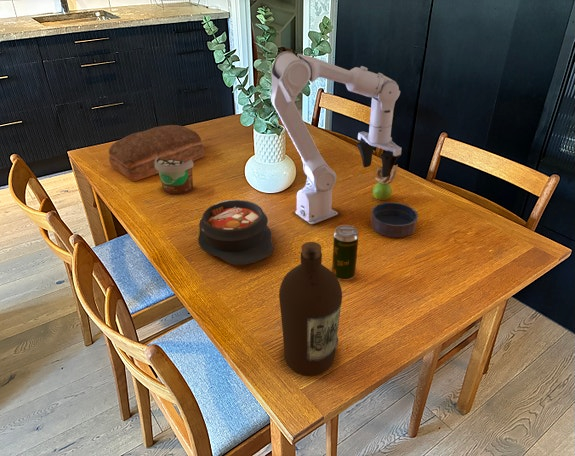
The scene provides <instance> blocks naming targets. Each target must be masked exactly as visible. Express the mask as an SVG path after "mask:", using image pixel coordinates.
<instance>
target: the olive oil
mask: <svg viewBox="0 0 575 456" xmlns="http://www.w3.org/2000/svg"><path fill="white" fill-rule="evenodd" d="M300 250H301V252H300V263H299V264H298V265H297V266H294V267H293V268H292V269H290V270H289V271H288V272H287V273H286V274H285V276H284V277H283V279H282V281H281V283H280V286H279V292H278V300H279V308H280V319H281V328H282V330H281V331H282V340H283V357H284V361H285V363H286V364H287V366H288V368H289V369H291V370H292V371H293V372H295V373H297V374H299V375H303V376H311V377H312V376H317V375H321V374H323V373H325V372H327V371H328V370H329V369H330V368H332V366H333V364H334V361H335V358H336V349H337V347H338V345H339V337H338V331H339V324H340V317H341V310H342V303H343V290H342V286H341V283H340V280H338V279H337V277H336V276H335V274H334V273H333V272H332V270H330V269H329V268H328V267H327V266H325V265H323V264H322V262H323V261H322V260H323V253H322V245H321V244H320V243H319V242H316V241H306V242H304V243H303V244H301V248H300Z"/></svg>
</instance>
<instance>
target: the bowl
mask: <svg viewBox="0 0 575 456" xmlns="http://www.w3.org/2000/svg"><path fill="white" fill-rule="evenodd" d="M418 219H419V215H418V211H416V209H414V208H413V207H411V206H410V205H407V204H404V203H401V202H396V201H395V202H393V201H390V202H381V203H379V204H378V203H377V204H375V206H373V207H372V209H371V211H370V220H369V223H370V227H371V228H372V230H373V231H375V232H376V233H378V234H380V235H382V236H384V237H387V238H392V239H393V238H395V239H398V238H405V237H409V236H411V235H413V234H414V233H415V232H416V230H417V225H418Z"/></svg>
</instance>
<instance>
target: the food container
mask: <svg viewBox="0 0 575 456" xmlns="http://www.w3.org/2000/svg"><path fill="white" fill-rule="evenodd" d="M194 166H195V164H194V161H192V159H191V160H190V161H188V162H185V161H179V160H175V159H171V160H163V159H158V156H157V157H156V159H155V169H157V170H158V172H159V173H158V175H159V179H160V182H161V186H162V189H163V192H164V193H165V194H168V195H173V196H176V195H185V194H186V193H189V192H191V191H192V190H193V189H194V181H193V180H194V179H193V176H194V175H193V168H194Z"/></svg>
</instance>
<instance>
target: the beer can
mask: <svg viewBox="0 0 575 456" xmlns="http://www.w3.org/2000/svg"><path fill="white" fill-rule="evenodd" d="M332 243H333V245H332V261H331V262H332V263H331V271H332V272H333V273H334V274H335V276H336V277H337V279H338V281H341V282H347V281H350V280H352V279H353V278H354V277H355V275H356V272H357V271H356V269H357V261H358V260H357V259H358V257H357V256H358V247H359V231H358V229H357V228H356V227H355V226H353V225H350V224H341V225H338V226H337V227H336V228H334V232H333V242H332Z"/></svg>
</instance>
